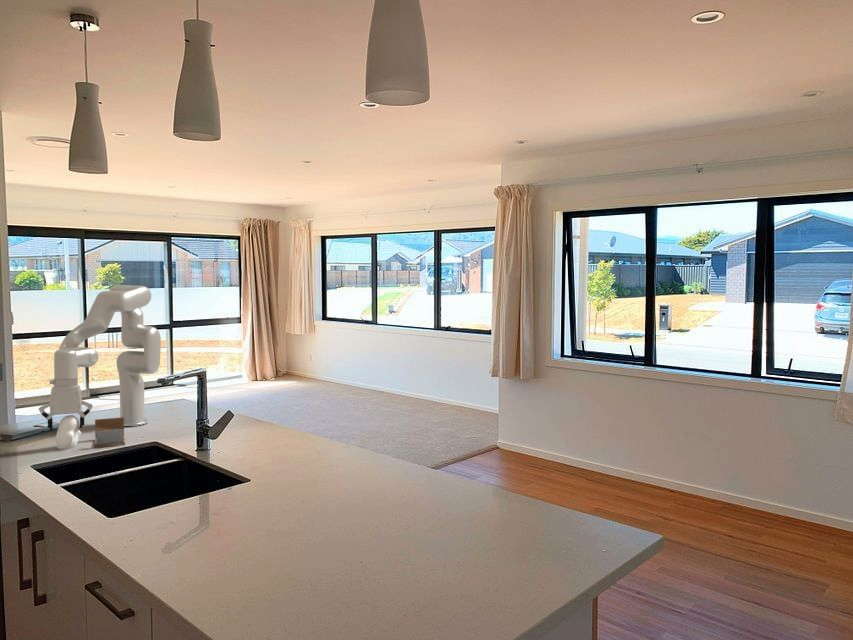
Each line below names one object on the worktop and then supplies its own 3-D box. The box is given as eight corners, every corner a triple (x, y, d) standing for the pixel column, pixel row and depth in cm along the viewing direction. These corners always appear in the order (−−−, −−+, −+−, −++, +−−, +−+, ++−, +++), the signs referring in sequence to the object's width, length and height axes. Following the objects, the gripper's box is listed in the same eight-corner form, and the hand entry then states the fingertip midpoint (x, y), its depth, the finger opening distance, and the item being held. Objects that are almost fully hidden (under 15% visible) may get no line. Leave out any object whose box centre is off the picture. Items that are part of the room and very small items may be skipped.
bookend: (96, 442, 234) (96, 429, 234) (123, 440, 238) (123, 427, 238) (96, 445, 230) (96, 432, 230) (123, 442, 235) (123, 429, 234)
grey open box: (95, 439, 242) (95, 419, 241) (123, 436, 246) (123, 417, 246) (95, 448, 230) (94, 426, 230) (125, 445, 235) (124, 424, 234)
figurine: (72, 450, 227) (71, 417, 226) (51, 449, 227) (51, 417, 227) (83, 444, 234) (82, 413, 234) (63, 444, 235) (62, 413, 234)
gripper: (37, 385, 222) (37, 432, 223) (92, 383, 230) (92, 428, 231) (39, 382, 228) (39, 428, 229) (92, 380, 236) (92, 424, 237)
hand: (66, 428), depth 230 cm, fingers open, 9 cm apart
